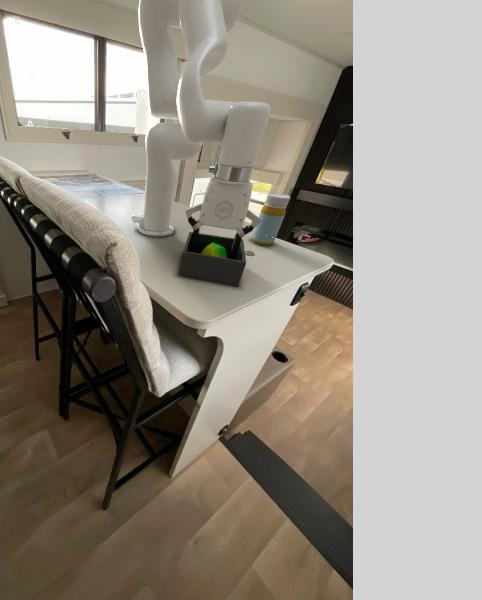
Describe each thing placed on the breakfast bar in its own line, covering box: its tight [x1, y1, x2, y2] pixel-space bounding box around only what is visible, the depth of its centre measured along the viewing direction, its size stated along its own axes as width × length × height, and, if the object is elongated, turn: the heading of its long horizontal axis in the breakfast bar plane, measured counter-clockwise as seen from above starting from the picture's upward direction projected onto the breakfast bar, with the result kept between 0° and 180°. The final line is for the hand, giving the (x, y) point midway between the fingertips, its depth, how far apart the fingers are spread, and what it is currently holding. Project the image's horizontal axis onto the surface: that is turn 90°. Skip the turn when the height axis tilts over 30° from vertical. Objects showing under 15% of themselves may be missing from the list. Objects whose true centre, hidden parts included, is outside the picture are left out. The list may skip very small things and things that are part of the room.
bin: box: [177, 231, 247, 288], centre depth 66 cm, size 15×15×7 cm
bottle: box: [251, 192, 291, 247], centre depth 80 cm, size 7×7×15 cm
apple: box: [201, 242, 227, 258], centre depth 67 cm, size 7×6×9 cm
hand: (213, 246), depth 65 cm, fingers open, 9 cm apart
